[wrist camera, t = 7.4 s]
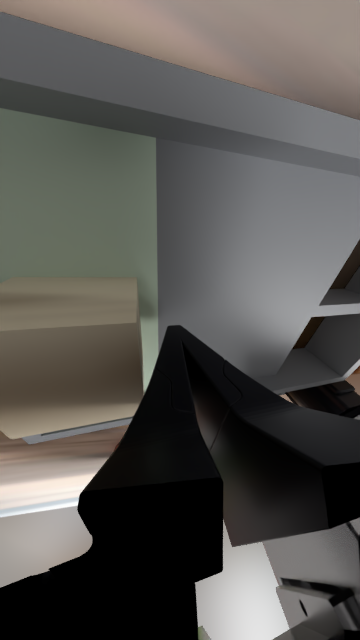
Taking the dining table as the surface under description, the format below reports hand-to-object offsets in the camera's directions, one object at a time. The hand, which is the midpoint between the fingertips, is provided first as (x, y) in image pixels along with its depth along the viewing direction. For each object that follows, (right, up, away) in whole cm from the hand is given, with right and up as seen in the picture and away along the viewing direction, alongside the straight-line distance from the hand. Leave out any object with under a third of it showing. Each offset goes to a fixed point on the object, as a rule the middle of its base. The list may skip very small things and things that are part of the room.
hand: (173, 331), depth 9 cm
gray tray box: (+4, +3, +4) cm, 6 cm away
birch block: (-4, +1, 0) cm, 4 cm away
